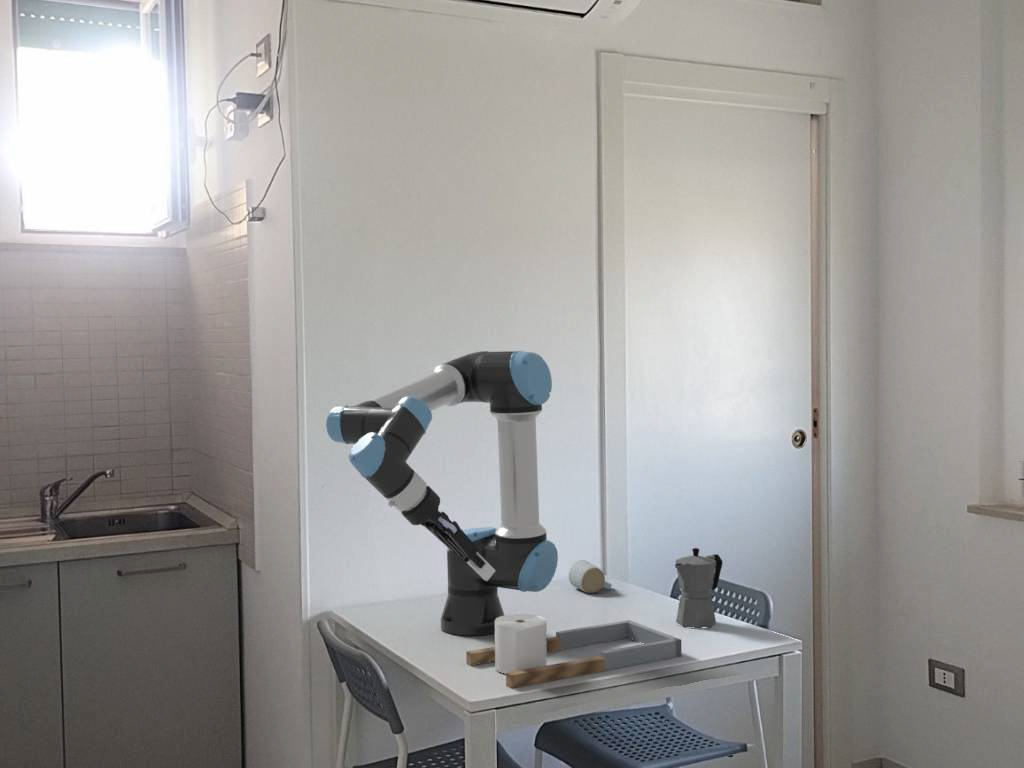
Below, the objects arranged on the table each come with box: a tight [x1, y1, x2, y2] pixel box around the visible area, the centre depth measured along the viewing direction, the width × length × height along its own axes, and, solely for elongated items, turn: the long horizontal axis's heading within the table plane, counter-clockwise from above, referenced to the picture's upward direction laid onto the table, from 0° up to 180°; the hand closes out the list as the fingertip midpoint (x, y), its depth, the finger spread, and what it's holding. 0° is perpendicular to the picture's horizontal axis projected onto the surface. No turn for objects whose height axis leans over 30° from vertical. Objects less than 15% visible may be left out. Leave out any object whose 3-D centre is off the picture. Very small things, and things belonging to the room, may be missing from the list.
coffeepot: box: [674, 547, 723, 628], centre depth 261 cm, size 15×9×18 cm, turn 127°
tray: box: [555, 619, 682, 671], centre depth 238 cm, size 20×19×4 cm
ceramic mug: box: [568, 559, 613, 594], centre depth 296 cm, size 11×8×8 cm
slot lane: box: [465, 636, 606, 689], centre depth 228 cm, size 22×19×2 cm
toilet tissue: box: [494, 613, 548, 675], centre depth 227 cm, size 11×12×10 cm
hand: (489, 575), depth 223 cm, fingers closed
